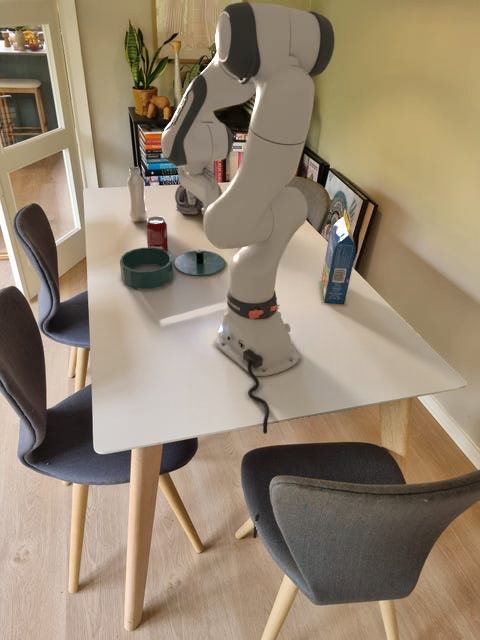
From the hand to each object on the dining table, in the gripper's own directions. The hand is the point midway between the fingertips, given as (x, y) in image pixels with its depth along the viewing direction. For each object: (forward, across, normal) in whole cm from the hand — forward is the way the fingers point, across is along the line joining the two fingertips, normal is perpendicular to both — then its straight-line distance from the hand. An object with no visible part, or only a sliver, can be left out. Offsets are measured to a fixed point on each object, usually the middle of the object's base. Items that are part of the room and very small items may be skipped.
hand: (198, 209), depth 136 cm
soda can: (+20, +14, +9) cm, 25 cm away
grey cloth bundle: (+20, +40, -19) cm, 48 cm away
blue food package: (+20, -33, -29) cm, 48 cm away
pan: (+19, 0, +18) cm, 26 cm away
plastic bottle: (+20, +42, +6) cm, 46 cm away
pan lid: (+19, 0, 0) cm, 19 cm away
